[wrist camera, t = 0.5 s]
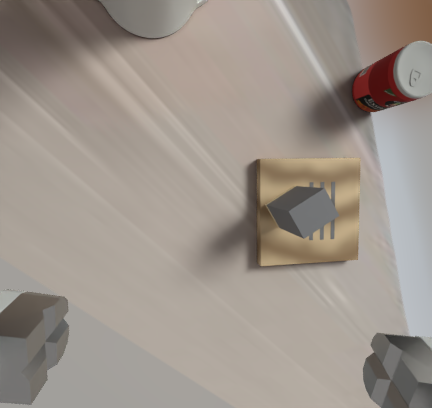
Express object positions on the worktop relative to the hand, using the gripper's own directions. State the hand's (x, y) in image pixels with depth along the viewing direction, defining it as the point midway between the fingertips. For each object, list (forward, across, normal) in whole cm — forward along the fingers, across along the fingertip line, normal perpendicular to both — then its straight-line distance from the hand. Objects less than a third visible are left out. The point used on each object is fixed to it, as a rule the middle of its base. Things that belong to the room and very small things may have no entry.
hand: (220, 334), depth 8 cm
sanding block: (+43, -12, +9) cm, 45 cm away
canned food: (+52, -25, -12) cm, 59 cm away
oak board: (+45, -16, +10) cm, 49 cm away
